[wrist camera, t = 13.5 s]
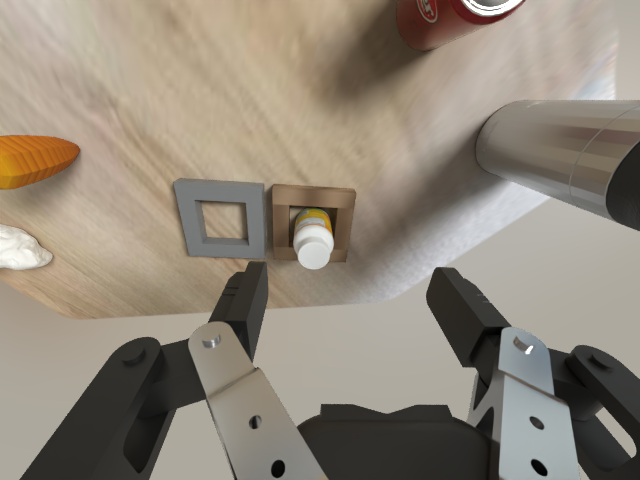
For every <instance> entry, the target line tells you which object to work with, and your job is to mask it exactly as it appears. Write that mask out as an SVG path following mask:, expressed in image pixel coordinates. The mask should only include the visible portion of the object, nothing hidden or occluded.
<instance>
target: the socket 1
mask: <svg viewBox="0 0 640 480" xmlns="http://www.w3.org/2000/svg"><path fill="white" fill-rule="evenodd" d="M173 184H174V188H175V193H176V198H177V202H178V207H179V211H180V216H181V220H182V225H183V229H184V234H185V238H186V243H187V247H188V252H189V256H208V257H232V258H257V259H265V256H266V253H267V246H266V219H265V192H264V183H250V182H234V181H217V180H201V179H185V178H180V179H178V180H176V181H174V182H173ZM201 200H207V201H225V202H242V203H246V212H247V225H248V238H249V239H233V238H211V237H207V234H206V229H205V223H204V217H203V211H202V205H201Z"/></svg>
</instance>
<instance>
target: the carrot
mask: <svg viewBox="0 0 640 480" xmlns="http://www.w3.org/2000/svg"><path fill="white" fill-rule="evenodd" d="M79 151H80V149H79V147H78V146H77V145H76V144H74V143H72V142H69V141H67V140H64V139H60V138H56V137H47V136H30V135H9V136H0V189H15V188H19V187H22V186H25V185H28V184H31V183H34V182H37V181H40V180H43V179H45V178H48V177H51V176H53V175H54V174H56V173H58V172H60V171H62V170H63V169H65V168H66V167H68V166H69V165H70V164H71V163H72V162H73V161H74V160H75V158H76V157H77V155H78V153H79Z"/></svg>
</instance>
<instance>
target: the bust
mask: <svg viewBox="0 0 640 480" xmlns="http://www.w3.org/2000/svg"><path fill="white" fill-rule="evenodd" d="M52 257H53V255H52V253H50V252H49V251H47V250H46V249H44V248H42V247H41V246H40V245H39V244H38V242H37V240H36V239H35V238H34V237H32V236H31V235H29V234H28V233H27V232H25V231H24V230H22V229H19V228H16V227H12V226H7V225H2V224H0V268H3V267H5V268H9V269H13V270H25V269H32V268H37V267H41V266H44V265H46V264H48V263H49V262H50V261H51V259H52Z"/></svg>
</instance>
